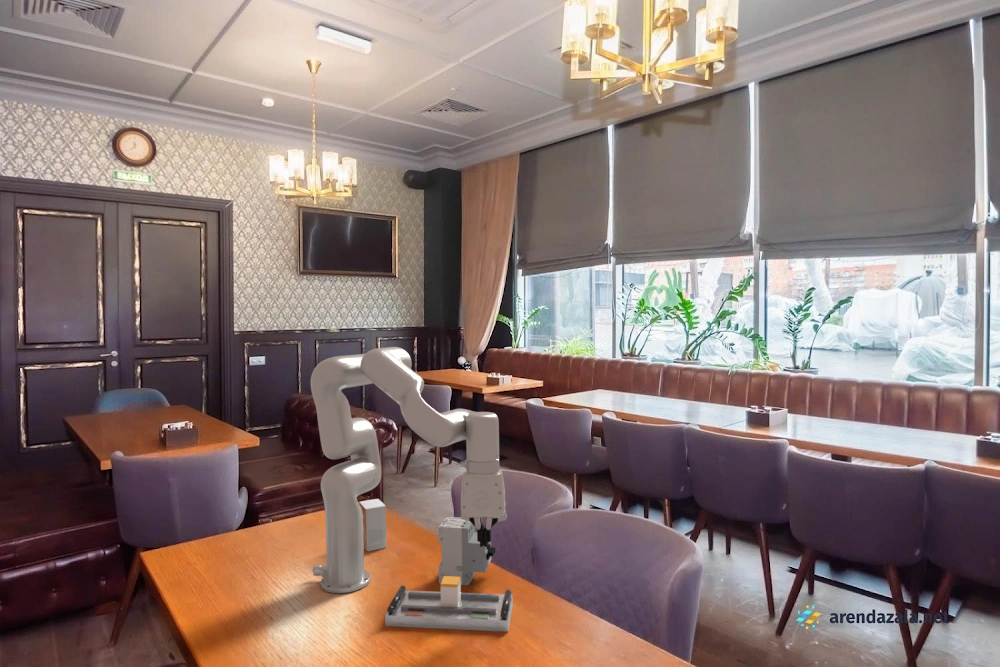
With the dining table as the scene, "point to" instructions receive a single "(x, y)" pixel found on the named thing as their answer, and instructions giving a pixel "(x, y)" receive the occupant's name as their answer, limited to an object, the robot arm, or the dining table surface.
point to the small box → (374, 524)
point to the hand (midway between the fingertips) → (484, 544)
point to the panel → (450, 611)
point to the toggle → (450, 591)
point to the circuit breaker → (462, 550)
